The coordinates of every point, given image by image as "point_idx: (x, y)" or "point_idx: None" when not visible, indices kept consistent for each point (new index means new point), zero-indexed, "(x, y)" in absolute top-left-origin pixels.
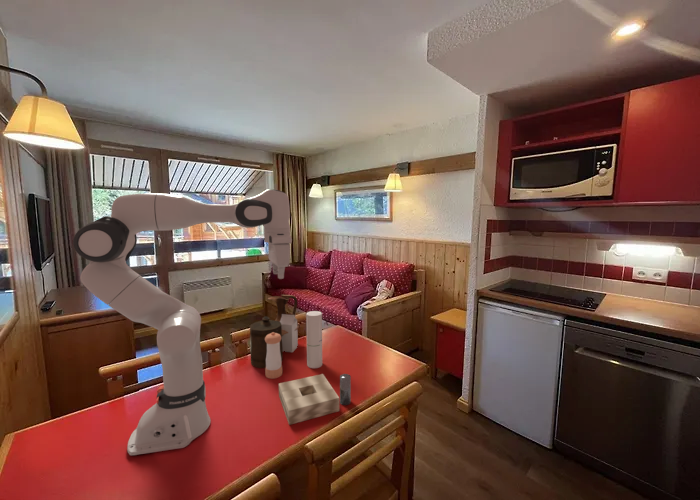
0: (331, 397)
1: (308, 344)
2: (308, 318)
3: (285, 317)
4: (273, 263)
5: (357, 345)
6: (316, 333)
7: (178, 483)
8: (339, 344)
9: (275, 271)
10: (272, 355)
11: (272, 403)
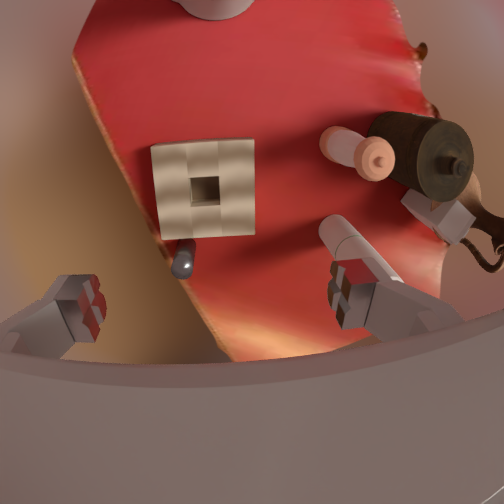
0: (166, 227)
1: (349, 238)
2: None
3: (464, 222)
4: (416, 331)
5: None
6: None
7: (104, 8)
8: None
9: (341, 288)
10: (343, 146)
11: (230, 121)
